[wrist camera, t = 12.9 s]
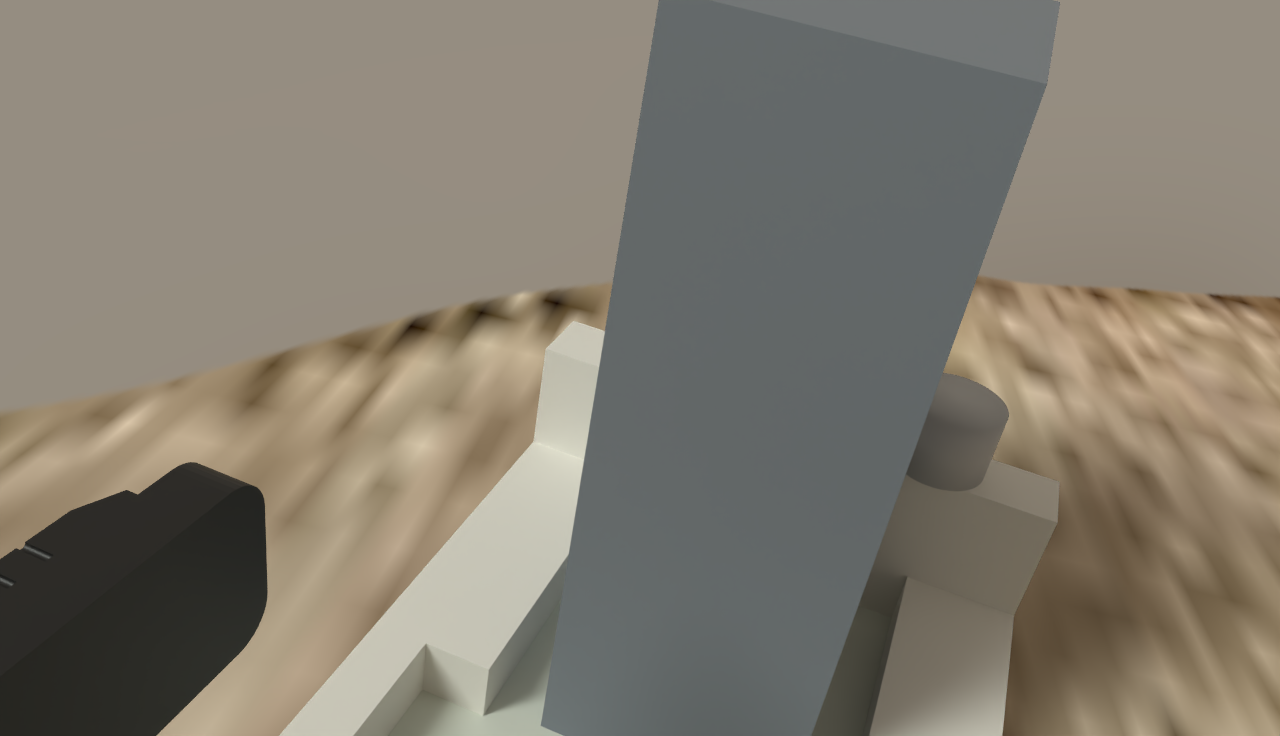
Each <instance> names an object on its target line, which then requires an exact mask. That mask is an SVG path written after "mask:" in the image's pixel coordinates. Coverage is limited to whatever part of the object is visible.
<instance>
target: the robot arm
mask: <svg viewBox="0 0 1280 736" xmlns="http://www.w3.org/2000/svg"><path fill="white" fill-rule="evenodd" d="M266 602H267V562H266V529H265V503H264V498H263V494H262V493H261V491H260V490H259V489H258V488H257V487H255V486H252V485H250V484H247V483H245V482H242V481H240V480H237V479H235V478H233V477H230V476H228V475H225V474H223V473H220V472H218V471H215V470H213V469H210V468H208V467H206V466H203V465H201V464H198V463H193V462H190V463H185V464H182V465H180V466H178V467H176V468H175V469H173V470H171V471H170V472H169V473H167V474H166V475H164V476H163V477H162V478H160V479H159V480H158V481H156V482H155V483H153V484H152V485H151V486H149V487H148V488H146V489H145V490H144V491H142V492H141V493H139V494H138V495H137V494H135V493H133V492H130V491H128V490H125V491H123V492H120V493H117V494H115V495H112V496H109V497H106V498H104V499H101V500H98V501H96V502H93V503H90V504H87V505H85V506H82V507H79V508H77V509H74V510H71V511H70V512H68V513H67V514H65V515H64V516H62V517H61V518H59V519H58V520H57V521H55V522H54V523H52V524H51V525H49V526H48V527H46V528H45V529H44V530H42V531H41V532H39V533H38V534H36V535H35V536H33V537H32V538H30V539H29V540H28V541H26V542H25V546H24V547H23V548H22V549H21V550H19V549H17V548H16V549H14V550H13V551H12V552H10V553H9V554H7V555H6V556H4V557H3V558H1V559H0V736H156V735H157V734H158V733H159V732H160V731H161V730H162V729H163V728H164V727H165V726H166V725H167V724H168V723H169V722H170V721H171V720H172V719H173V718H174V717H175V716H177V715H178V714H179V713H180V712H181V711H182V710H183V709H184V708H185V707H186V706H187V705H188V704H189V703H190V702H191V701H192V700H193V699H194V698H195V697H196V696H197V695H198V694H199V693H200V692H201V691H202V690H203V689H204V688H205V687H206V686H207V685H208V684H209V683H210V682H211V681H212V680H213V679H214V678H215V677H216V676H217V675H218V674H219V673H220V672H221V671H222V670H223V669H224V668H225V667H226V666H227V665H228V664H229V663H230V662H231V661H232V660H233V659H234V658H235V657H236V656H237V655H238V654H239V653H240V652H241V651H242V650H243V649H244V648H245V646H246V645H247V644H248V642H249V641H250V639H251V638H252V636H253V635H254V633H255V631H256V629H257V628H258V626H259V623H260V621H261V619H262V616H263V613H264V610H265V607H266Z"/></svg>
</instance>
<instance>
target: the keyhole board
mask: <svg viewBox="0 0 1280 736" xmlns="http://www.w3.org/2000/svg"><path fill="white" fill-rule="evenodd" d="M604 334H605V331H603V330H600V329H597V328H594V327H591V326H588V325H585V324H582V323H579V322H576V321H573V322H572V323H571V324H570V325H569V326H568V327H567V328H566V329H565V330H564V331H563V332H562V333H561V334H560V335H559V336H558V337H557V338H556V339H555V340H554V341H553V342H552V343H551V344H550V345H549V346H548V347H547V348H546V351H545V359H544V367H543V374H542V382H541V390H540V397H539V405H538V412H537V420H536V428H535V435H534V442H533V443H532V444H531V445H530V446H529V448H528V449H527V450H526V451H525V452H524V453H523V454H522V456H521V457H520V458H519V459H518V460H517V461H516V463H515V464H514V465H513V466H512V467H511V468H510V469H509V471H508V472H507V473H506V474H505V475H504V476H503V478H502V479H501V480H500V481H499V482H498V483H497V484H496V486H495V487H494V488H493V489H492V490H491V491H490V493H489V494H488V495H487V496H486V497H485V498H484V500H483V501H482V502H481V503H480V504H479V505H478V506H477V508H476V509H475V510H474V511H473V512H472V513H471V515H470V516H469V517H468V518H467V519H466V520H465V521H464V523H463V524H462V525H461V526H460V527H459V528H458V530H457V531H456V532H455V533H454V534H453V535H452V537H451V538H450V539H449V540H448V541H447V542H446V543H445V545H444V546H443V547H442V548H441V549H440V550H439V552H438V553H437V554H436V555H435V556H434V557H433V558H432V560H431V561H430V562H429V563H428V564H427V565H426V567H425V568H424V569H423V570H422V571H421V572H420V574H419V575H418V576H417V577H416V578H415V579H414V580H413V582H412V583H411V584H410V585H409V586H408V587H407V589H406V590H405V591H404V592H403V593H402V594H401V595H400V597H399V598H398V599H397V600H396V601H395V602H394V604H393V605H392V606H391V607H390V608H389V609H388V610H387V612H386V613H385V614H384V615H383V616H382V617H381V619H380V620H379V621H378V622H377V623H376V624H375V626H374V627H373V628H372V629H371V630H370V631H369V632H368V634H367V635H366V636H365V637H364V638H363V639H362V641H361V642H360V643H359V644H358V645H357V646H356V647H355V649H354V650H353V651H352V652H351V653H350V654H349V656H348V657H347V658H346V659H345V660H344V661H343V663H342V664H341V665H340V666H339V667H338V668H337V669H336V671H335V672H334V673H333V674H332V675H331V676H330V678H329V679H328V680H327V681H326V682H325V683H324V684H323V686H322V687H321V688H320V689H319V690H318V691H317V693H316V694H315V695H314V696H313V697H312V698H311V700H310V701H309V702H308V703H307V704H306V705H305V706H304V708H303V709H302V710H301V711H300V712H299V713H298V715H297V716H296V717H295V718H294V719H293V720H292V721H291V723H290V724H289V725H288V726H287V727H286V728H285V730H284V731H283V732H282V733H281V734H280V735H279V736H563V735H561V734H558V733H556V732H554V731H551V730H549V729H547V728H544V727H542V726H541V721H542V715H543V709H544V702H545V696H546V690H547V684H548V678H549V672H550V666H551V660H552V653H553V647H554V641H555V635H556V629H557V623H558V617H559V610H560V604H561V598H562V592H563V586H564V580H565V574H566V567H567V561H568V555H569V549H570V543H571V537H572V531H573V524H574V518H575V512H576V506H577V500H578V494H579V488H580V482H581V475H582V469H583V463H584V457H585V451H586V445H587V439H588V432H589V426H590V420H591V414H592V408H593V402H594V396H595V389H596V383H597V377H598V371H599V365H600V359H601V353H602V347H603V340H604ZM1008 417H1009V412H1008V409H1007V406H1006V405H1005V403H1004V402H1003V401H1002V400H1001V398H1000V397H998V396H997V395H996V394H995V393H994V392H992V391H991V390H989V389H988V388H986V387H984V386H983V385H981V384H979V383H977V382H974V381H972V380H970V379H967V378H964V377H961V376H957V375H952V374H947V373H942V376H941V379H940V381H939V384H938V387H937V390H936V392H935V395H934V398H933V401H932V403H931V406H930V409H929V412H928V414H927V417H926V420H925V423H924V426H923V428H922V431H921V434H920V437H919V439H918V442H917V445H916V448H915V450H914V453H913V456H912V459H911V461H910V464H909V467H908V470H907V473H906V475H905V478H904V481H903V484H902V486H901V489H900V492H899V495H898V497H897V500H896V503H895V506H894V508H893V511H892V514H891V517H890V520H889V522H888V525H887V528H886V531H885V533H884V536H883V539H882V542H881V544H880V547H879V550H878V553H877V555H876V558H875V561H874V564H873V567H872V569H871V572H870V575H869V578H868V580H867V583H866V586H865V589H864V591H863V594H862V597H861V600H860V602H859V605H858V608H857V611H856V614H855V616H854V619H853V622H852V625H851V627H850V630H849V633H848V636H847V638H846V641H845V644H844V647H843V649H842V652H841V655H840V658H839V661H838V663H837V666H836V669H835V672H834V674H833V677H832V680H831V683H830V685H829V688H828V691H827V694H826V696H825V699H824V702H823V705H822V707H821V710H820V713H819V716H818V719H817V721H816V724H815V727H814V730H813V732H812V735H811V736H1002V734H1003V724H1004V714H1005V704H1006V693H1007V683H1008V673H1009V663H1010V652H1011V642H1012V632H1013V622H1014V615H1015V613H1016V610H1017V608H1018V606H1019V604H1020V602H1021V600H1022V598H1023V596H1024V593H1025V591H1026V589H1027V587H1028V585H1029V583H1030V581H1031V578H1032V576H1033V574H1034V572H1035V570H1036V568H1037V566H1038V564H1039V561H1040V559H1041V557H1042V555H1043V553H1044V551H1045V549H1046V546H1047V544H1048V542H1049V540H1050V538H1051V536H1052V534H1053V532H1054V529H1055V527H1056V525H1057V523H1058V505H1059V486H1060V482H1059V481H1056V480H1053V479H1050V478H1047V477H1044V476H1041V475H1038V474H1035V473H1032V472H1029V471H1026V470H1023V469H1020V468H1017V467H1014V466H1011V465H1008V464H1005V463H1002V462H999V461H996V460H992V457H993V454H994V452H995V450H996V447H997V445H998V442H999V440H1000V437H1001V435H1002V432H1003V430H1004V428H1005V425H1006V423H1007V420H1008Z"/></svg>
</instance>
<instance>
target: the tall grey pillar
mask: <svg viewBox="0 0 1280 736" xmlns="http://www.w3.org/2000/svg"><path fill="white" fill-rule="evenodd" d="M1059 6H1060V2H1058V1H1053V0H659V3H658V9H657V15H656V22H655V28H654V34H653V40H652V46H651V52H650V58H649V64H648V71H647V77H646V83H645V89H644V95H643V101H642V107H641V113H640V119H639V126H638V132H637V138H636V144H635V150H634V156H633V162H632V169H631V175H630V181H629V187H628V193H627V199H626V205H625V212H624V218H623V224H622V230H621V236H620V242H619V248H618V254H617V261H616V267H615V273H614V279H613V285H612V291H611V297H610V304H609V310H608V316H607V322H606V328H605V334H604V340H603V347H602V353H601V359H600V365H599V371H598V377H597V383H596V389H595V396H594V402H593V408H592V414H591V420H590V426H589V432H588V439H587V445H586V451H585V457H584V463H583V469H582V475H581V482H580V488H579V494H578V500H577V506H576V512H575V518H574V524H573V531H572V537H571V543H570V549H569V555H568V561H567V567H566V574H565V580H564V586H563V592H562V598H561V604H560V610H559V617H558V623H557V629H556V635H555V641H554V647H553V653H552V660H551V666H550V672H549V678H548V684H547V690H546V696H545V702H544V709H543V715H542V721H541V726H542V727H544V728H547V729H549V730H551V731H554V732H556V733H558V734H561V735H563V736H811V735H812V732H813V730H814V727H815V724H816V721H817V719H818V716H819V713H820V710H821V707H822V705H823V702H824V699H825V696H826V694H827V691H828V688H829V685H830V683H831V680H832V677H833V674H834V672H835V669H836V666H837V663H838V661H839V658H840V655H841V652H842V649H843V647H844V644H845V641H846V638H847V636H848V633H849V630H850V627H851V625H852V622H853V619H854V616H855V614H856V611H857V608H858V605H859V602H860V600H861V597H862V594H863V591H864V589H865V586H866V583H867V580H868V578H869V575H870V572H871V569H872V567H873V564H874V561H875V558H876V555H877V553H878V550H879V547H880V544H881V542H882V539H883V536H884V533H885V531H886V528H887V525H888V522H889V520H890V517H891V514H892V511H893V508H894V506H895V503H896V500H897V497H898V495H899V492H900V489H901V486H902V484H903V481H904V478H905V475H906V473H907V470H908V467H909V464H910V461H911V459H912V456H913V453H914V450H915V448H916V445H917V442H918V439H919V437H920V434H921V431H922V428H923V426H924V423H925V420H926V417H927V414H928V412H929V409H930V406H931V403H932V401H933V398H934V395H935V392H936V390H937V387H938V384H939V381H940V379H941V376H942V373H943V370H944V367H945V365H946V362H947V359H948V356H949V354H950V351H951V348H952V345H953V343H954V340H955V337H956V334H957V332H958V329H959V326H960V323H961V320H962V318H963V315H964V312H965V309H966V307H967V304H968V301H969V298H970V296H971V293H972V290H973V287H974V285H975V282H976V279H977V276H978V273H979V271H980V268H981V265H982V262H983V259H984V257H985V254H986V251H987V249H988V246H989V243H990V240H991V238H992V235H993V232H994V229H995V226H996V224H997V221H998V218H999V215H1000V213H1001V210H1002V207H1003V204H1004V202H1005V199H1006V196H1007V193H1008V191H1009V188H1010V185H1011V182H1012V179H1013V177H1014V174H1015V171H1016V168H1017V165H1018V163H1019V160H1020V157H1021V154H1022V152H1023V149H1024V146H1025V144H1026V141H1027V138H1028V135H1029V133H1030V130H1031V127H1032V124H1033V121H1034V118H1035V116H1036V113H1037V110H1038V108H1039V105H1040V102H1041V99H1042V97H1043V94H1044V91H1045V88H1046V86H1047V81H1048V75H1049V68H1050V62H1051V56H1052V50H1053V43H1054V37H1055V31H1056V24H1057V18H1058V12H1059Z"/></svg>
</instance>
